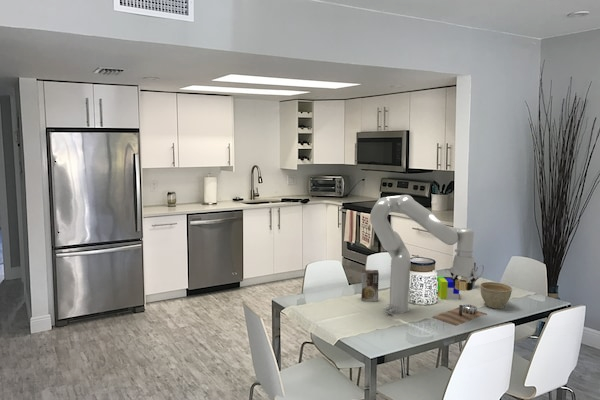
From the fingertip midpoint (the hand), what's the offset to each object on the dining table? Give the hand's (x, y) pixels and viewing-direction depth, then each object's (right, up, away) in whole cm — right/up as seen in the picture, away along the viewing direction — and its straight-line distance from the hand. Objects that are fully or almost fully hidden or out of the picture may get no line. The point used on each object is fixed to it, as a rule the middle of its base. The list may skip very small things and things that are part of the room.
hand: (462, 287), depth 254 cm
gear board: (-1, -16, +2) cm, 16 cm away
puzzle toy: (+3, -11, +36) cm, 38 cm away
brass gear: (0, 0, 0) cm, 0 cm away
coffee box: (-43, -11, +28) cm, 52 cm away
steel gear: (+6, -13, +7) cm, 16 cm away
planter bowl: (+24, -14, +21) cm, 35 cm away
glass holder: (+23, -9, +55) cm, 60 cm away
